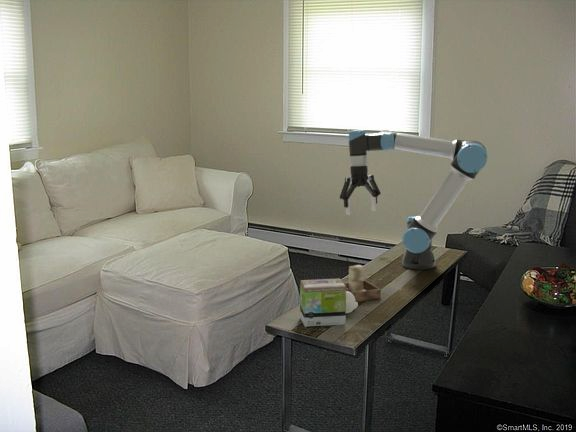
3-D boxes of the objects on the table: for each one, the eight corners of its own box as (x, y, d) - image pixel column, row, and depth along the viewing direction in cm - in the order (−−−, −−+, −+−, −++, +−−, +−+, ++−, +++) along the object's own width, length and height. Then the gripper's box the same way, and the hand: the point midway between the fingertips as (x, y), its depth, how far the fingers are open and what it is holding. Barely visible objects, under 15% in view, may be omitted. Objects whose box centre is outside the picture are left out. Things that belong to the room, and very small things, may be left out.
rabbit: (330, 316, 242) (330, 285, 240) (322, 308, 251) (322, 278, 248) (361, 312, 246) (361, 282, 243) (351, 304, 254) (351, 274, 252)
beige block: (359, 290, 269) (359, 264, 266) (369, 296, 262) (370, 269, 259) (348, 292, 267) (348, 266, 264) (359, 298, 260) (359, 271, 257)
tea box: (304, 328, 231) (304, 288, 228) (299, 318, 241) (299, 279, 238) (346, 325, 234) (346, 285, 230) (339, 315, 243) (339, 277, 240)
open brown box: (365, 289, 272) (365, 280, 271) (380, 298, 260) (380, 289, 260) (338, 292, 268) (338, 283, 267) (353, 302, 256) (353, 293, 255)
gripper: (377, 162, 298) (379, 209, 301) (330, 167, 287) (332, 215, 290) (386, 163, 292) (389, 210, 294) (339, 167, 281) (341, 217, 283)
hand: (361, 213), depth 292 cm, fingers open, 13 cm apart
